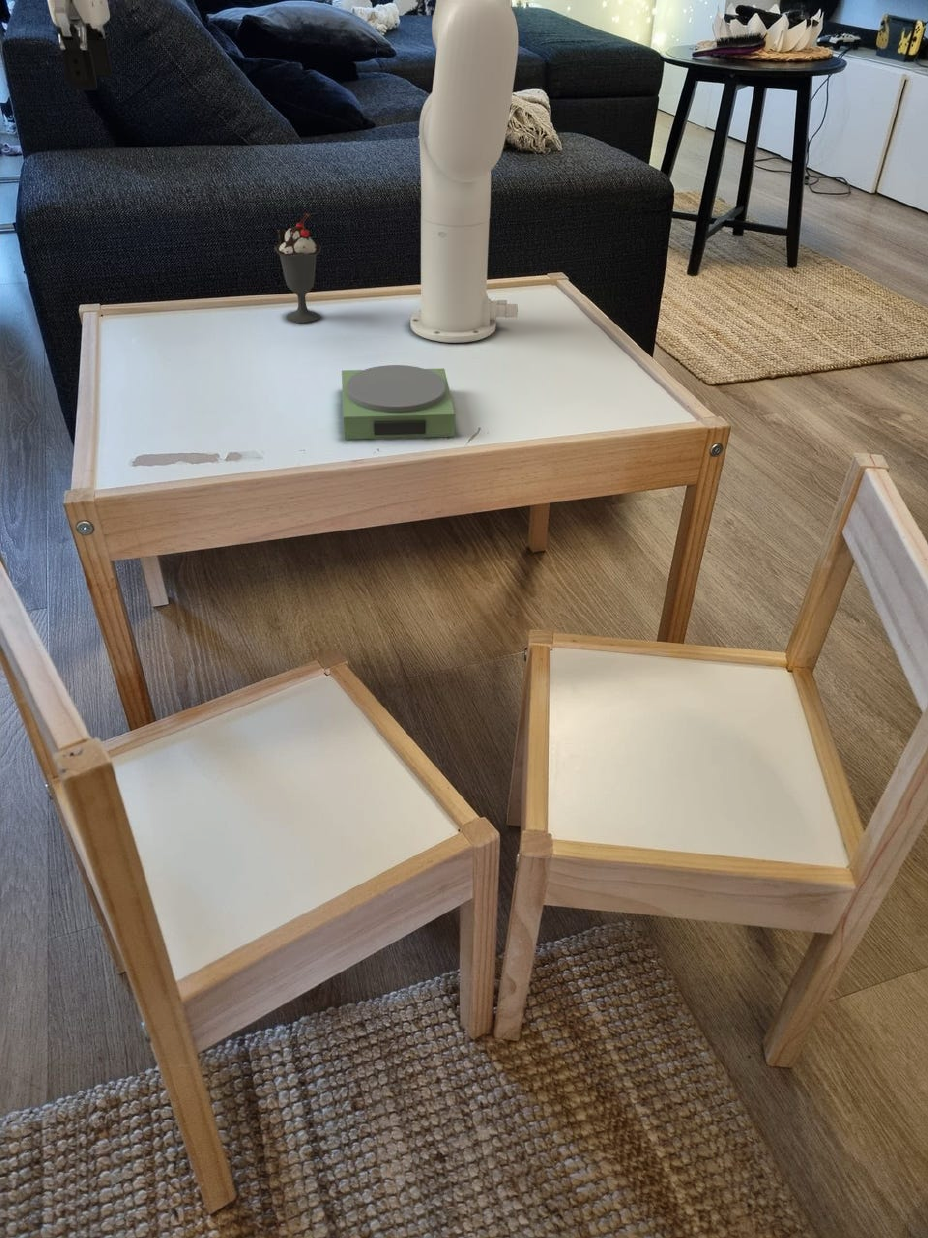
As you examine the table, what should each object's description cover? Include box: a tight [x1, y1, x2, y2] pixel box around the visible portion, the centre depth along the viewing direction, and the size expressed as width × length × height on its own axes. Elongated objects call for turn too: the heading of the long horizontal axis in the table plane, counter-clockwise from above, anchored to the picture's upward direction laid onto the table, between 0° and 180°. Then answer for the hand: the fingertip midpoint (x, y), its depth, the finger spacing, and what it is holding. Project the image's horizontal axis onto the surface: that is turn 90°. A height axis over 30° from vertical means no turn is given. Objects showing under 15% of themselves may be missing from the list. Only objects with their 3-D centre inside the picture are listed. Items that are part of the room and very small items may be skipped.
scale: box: [341, 364, 456, 441], centre depth 112 cm, size 13×14×4 cm
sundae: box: [273, 212, 322, 324], centre depth 133 cm, size 7×7×15 cm
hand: (91, 82), depth 112 cm, fingers open, 9 cm apart
